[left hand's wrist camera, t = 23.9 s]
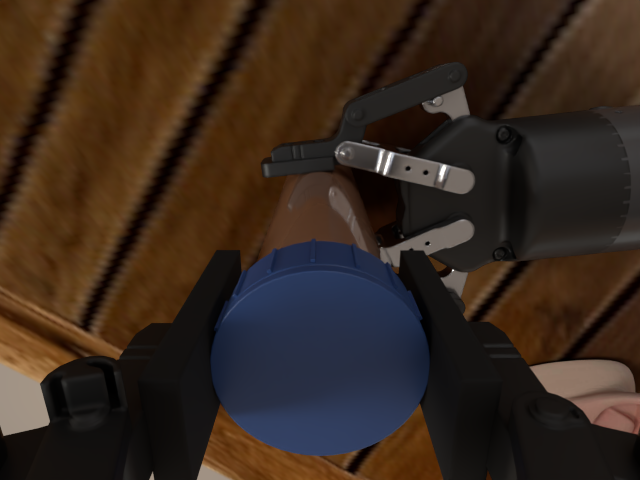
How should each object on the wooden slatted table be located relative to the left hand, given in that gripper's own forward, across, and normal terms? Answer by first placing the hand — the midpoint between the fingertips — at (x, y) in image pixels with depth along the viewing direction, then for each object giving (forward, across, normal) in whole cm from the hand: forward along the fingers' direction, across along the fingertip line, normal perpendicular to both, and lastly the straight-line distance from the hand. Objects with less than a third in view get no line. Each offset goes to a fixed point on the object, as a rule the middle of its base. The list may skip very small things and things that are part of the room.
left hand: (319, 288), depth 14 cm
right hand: (+10, -3, 0) cm, 10 cm away
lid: (-4, 0, 0) cm, 4 cm away
